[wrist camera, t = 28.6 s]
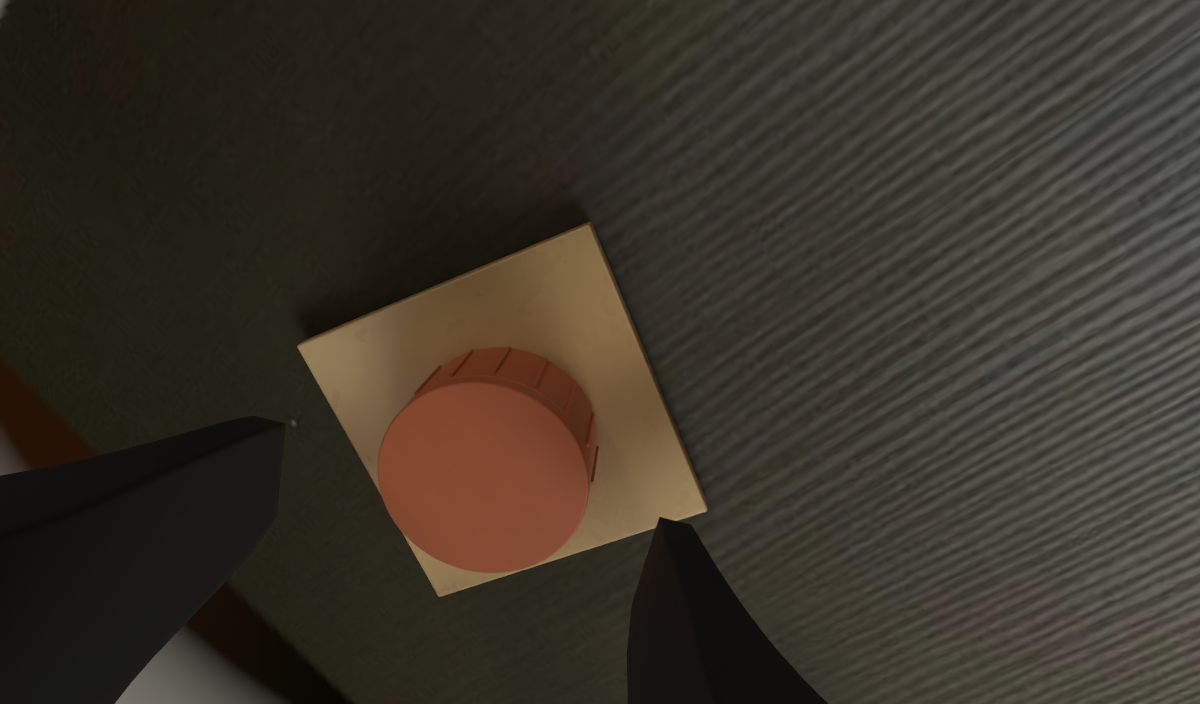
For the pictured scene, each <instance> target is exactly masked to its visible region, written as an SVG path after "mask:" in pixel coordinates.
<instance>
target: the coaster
mask: <svg viewBox="0 0 1200 704" xmlns="http://www.w3.org/2000/svg"><path fill="white" fill-rule="evenodd" d="M507 346H511V348H513V349H519V350H523V351H527V352H530V353H533V354H535V355H538V356H541V357H542V358H545V357H546V358H548V361H550V362H552V363H553V364H555V365H556V366H558V367H559V368H560V369H562V370H563V371H564V372H565V373H566V374H567V375H569V376H570V377H571V378H572V379H573V381H577V382H578V386H579V388H580V389H581V391H582V392H583V394H584V395H585V397H586V399H587V401H588V403H589V405H590V407H591V409H592V412H595V424H596V430H597V446H599V451H598V457H597V464H596V471H595V477H594V484H593V485H590V491H589V497H588V503H587V506H586V510H585V514H584V516H583V518H582V521H581V523H580V525H579V527H578V528H577V530H576V531H575V533H574V535H573V536H572V537H571V538H570V539H569V541H568V542H567V543H566V544H565V545H564V546H563V547H562V548H561V549H559V550H558V551H557V552H556V553H554V554H553V555H552V556H550V557H549V558H547V559H546V560H544V561H542V562H540V563H538V564H536V565H533V566H530V567H527V568H525V569H528V568H532V567H535V566H538V565H541V564H544V563H547V562H550V561H553V560H556V559H560V558H563V557H566V556H569V555H572V554H575V553H578V552H581V551H585V550H588V549H591V548H594V547H597V546H600V545H603V544H606V543H610V542H613V541H616V540H619V539H622V538H625V537H628V536H631V535H635V534H638V533H641V532H644V531H647V530H650V529H653V528H656V526H657V523H658V520H659V517H662V518H666V519H670V520H674V521H678V520H681V519H684V518H688V517H691V516H694V515H697V514H700V513H703V512H706V511H707V504H706V498H705V496H704V493H703V491H702V488H701V486H700V484H699V481H698V479H697V476H696V474H695V472H694V469H693V467H692V464H691V462H690V459H689V457H688V455H687V452H686V450H685V447H684V445H683V442H682V440H681V438H680V435H679V433H678V430H677V428H676V426H675V423H674V421H673V418H672V416H671V413H670V411H669V409H668V406H667V404H666V401H665V399H664V396H663V394H662V392H661V389H660V387H659V384H658V382H657V379H656V377H655V375H654V372H653V370H652V367H651V365H650V363H649V360H648V358H647V355H646V353H645V350H644V348H643V346H642V343H641V341H640V338H639V336H638V333H637V331H636V329H635V326H634V324H633V321H632V319H631V317H630V314H629V312H628V309H627V307H626V304H625V302H624V300H623V297H622V295H621V292H620V290H619V287H618V285H617V283H616V280H615V278H614V275H613V273H612V271H611V268H610V266H609V263H608V261H607V258H606V256H605V254H604V251H603V249H602V246H601V244H600V241H599V239H598V237H597V234H596V232H595V229H594V227H593V225H592V223H591V222H587V223H585V224H582V225H580V226H577V227H575V228H573V229H570V230H568V231H565V232H563V233H561V234H558V235H556V236H553V237H551V238H549V239H546V240H544V241H541V242H539V243H536V244H534V245H532V246H529V247H527V248H524V249H522V250H520V251H517V252H515V253H512V254H510V255H508V256H505V257H503V258H500V259H498V260H496V261H493V262H491V263H488V264H486V265H484V266H481V267H479V268H476V269H474V270H472V271H469V272H467V273H464V274H462V275H460V276H457V277H455V278H452V279H450V280H448V281H445V282H443V283H440V284H438V285H436V286H433V287H431V288H428V289H426V290H424V291H421V292H419V293H416V294H414V295H412V296H409V297H407V298H404V299H402V300H400V301H397V302H395V303H392V304H390V305H387V306H385V307H383V308H380V309H378V310H375V311H373V312H371V313H368V314H366V315H363V316H361V317H359V318H356V319H354V320H351V321H349V322H347V323H344V324H342V325H339V326H337V327H335V328H332V329H330V330H327V331H325V332H323V333H320V334H318V335H315V336H313V337H311V338H308V339H307V340H305V341H303V342H301V343H300V344H299V345H298V346H297V347H298V349H299V351H300V353H301V354H302V356H303V358H304V360H305V362H306V363H307V365H308V367H309V369H310V370H311V372H312V374H313V376H314V377H315V379H316V381H317V383H318V384H319V386H320V388H321V390H322V392H323V393H324V395H325V397H326V399H327V400H328V402H329V404H330V406H331V407H332V409H333V411H334V413H335V415H336V416H337V418H338V420H339V422H340V423H341V425H342V427H343V429H344V430H345V432H346V434H347V436H348V437H349V439H350V441H351V443H352V445H353V446H354V448H355V450H356V452H357V453H358V455H359V457H360V459H361V460H362V462H363V464H364V466H365V468H366V469H367V471H368V473H369V475H370V476H371V478H372V480H373V482H374V483H375V485H376V487H377V489H378V490H379V492H380V494H381V491H380V488H379V481H378V456H379V450H380V446H381V443H382V440H383V437H384V435H385V433H386V431H387V429H388V427H389V425H390V424H391V422H392V420H393V419H394V418H395V417H396V415H397V414H398V413H399V412H400V411H401V410H402V409H403V408H404V407H405V406H406V404H407V403H408V402H409V401H410V400H411V399H412V398H413V397H414V396H415V394H414V392H415V391H416V390H417V389H418V388H419V387H420V386H421V385H422V383H423V382H424V381H425V380H426V379H427V378H428V377H429V376H430V375H431V374H432V373H433V371H434V370H435V369H436V368H437V367H438V366H439V365H441V366H443V365H445V364H446V363H447V362H449V361H451V360H452V359H454V358H456V357H458V356H460V355H462V354H465V353H467V352H468V351H469V350H470V349H473V350H478V349H484V348H495V347H504V348H507ZM381 496H382V495H381ZM403 535H404V534H403ZM404 536H405V535H404ZM405 538H406V540H407V542H408V543H409V545H410V547H411V549H412V551H413V552H414V554H415V556H416V558H417V559H418V561H419V563H420V565H421V566H422V568H423V570H424V572H425V574H426V575H427V577H428V579H429V581H430V582H431V584H432V586H433V588H434V589H435V591H436V593H437V595H438V596H439V597H441V596H444V595H447V594H450V593H453V592H457V591H460V590H463V589H466V588H469V587H472V586H475V585H478V584H482V583H485V582H488V581H491V580H494V579H497V578H500V577H503V576H507V575H510V574H513V573H516V572H519V571H522V570H525V569H521V570H517V571H512V572H504V573H481V572H473V571H468V570H464V569H460V568H456V567H454V566H451V565H448V564H445V563H443V562H441V561H439V560H437V559H435V558H433V557H432V556H430V555H429V554H427V553H425V552H424V551H422V550H421V549H420V548H419V547H417V546H416V545H415V544H413V543H412V542H411V541H410V540H409V539H408V538H407V537H406V536H405Z"/></svg>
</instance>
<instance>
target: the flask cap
mask: <svg viewBox="0 0 1200 704" xmlns="http://www.w3.org/2000/svg"><path fill="white" fill-rule="evenodd" d="M414 394H415V396H414V397H413V398H412V399H411V400H410V401H409V402H408V403H407V404H406V406H405V407H404V408H403V409H402V410H401V411H400V412H399V413H398V414H397V415H396V417H395V418H394V419H393V420H392V422H391V424H390V425H389V427H388V429H387V431H386V433H385V435H384V437H383V440H382V443H381V446H380V450H379V456H378V481H379V488H380V491H381V495H382V498H383V501H384V503H385V506H386V508H387V510H388V512H389V514H390V516H391V517H392V519H393V521H394V522H395V524H396V525H397V526H398V527H399V529H400V530H401V531H402V533H403V534H404V535H405V536H406V537H407V538H408V539H409V540H410V541H411V542H412V543H413V544H415V545H416V546H417V547H419V548H420V549H421V550H422V551H424V552H425V553H427V554H429V555H430V556H432V557H433V558H435V559H437V560H439V561H441V562H443V563H445V564H448V565H451V566H454V567H456V568H460V569H464V570H468V571H473V572H481V573H504V572H512V571H517V570H521V569H525V568H527V567H530V566H533V565H536V564H538V563H540V562H542V561H544V560H546V559H547V558H549V557H550V556H552V555H553V554H554V553H556V552H557V551H558V550H559V549H561V548H562V547H563V546H564V545H565V544H566V543H567V542H568V541H569V539H570V538H571V537H572V536H573V535H574V533H575V531H576V530H577V528H578V527H579V525H580V523H581V521H582V518H583V516H584V514H585V510H586V506H587V503H588V497H589V491H590V485H593V484H594V477H595V471H596V464H597V457H598V451H599V446H597V430H596V424H595V412H592V409H591V407H590V405H589V403H588V401H587V399H586V397H585V395H584V394H583V392H582V391H581V389H580V388H579V386H578V382H577V381H573V379H572V378H571V377H570V376H569V375H567V374H566V373H565V372H564V371H563V370H562V369H560V368H559V367H558V366H556V365H555V364H553V363H552V362H550V361H548V358H546V357H545V358H542V357H541V356H538V355H535V354H533V353H530V352H527V351H523V350H519V349H513V348H511V346H507V348H504V347H495V348H484V349H478V350H473V349H470V350H469V351H468V352H467V353H465V354H462V355H460V356H458V357H456V358H454V359H452V360H451V361H449V362H447V363H446V364H445V365H443V366H441V365H439V366H438V367H437V368H436V369H435V370H434V371H433V373H432V374H431V375H430V376H429V377H428V378H427V379H426V380H425V381H424V382H423V383H422V385H421V386H420V387H419V388H418V389H417V390H416V391H415V392H414Z"/></svg>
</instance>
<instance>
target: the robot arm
mask: <svg viewBox="0 0 1200 704" xmlns="http://www.w3.org/2000/svg"><path fill="white" fill-rule="evenodd" d="M284 434H285V423H281V422H277V421H273V420H268V419H264V418H260V417H256V416H250V417H244V418H240V419H235V420H231V421H227V422H223V423H219V424H216V425H212V426H208V427H205V428H201V429H198V430H194V431H191V432H187V433H183V434H180V435H176V436H173V437H169V438H166V439H162V440H158V441H155V442H151V443H148V444H144V445H140V446H136V447H132V448H128V449H124V450H120V451H116V452H112V453H108V454H104V455H100V456H96V457H92V458H88V459H84V460H79V461H75V462H70V463H66V464H61V465H57V466H51V467H46V468H41V469H36V470H30V471H24V472H19V473H13V474H8V475H1V476H0V704H115V702H116V701H117V700H118V699H119V697H120V696H121V695H122V693H123V692H124V691H125V690H126V688H127V687H128V686H129V685H130V683H131V682H132V681H133V680H134V678H135V677H136V676H137V675H138V674H139V673H140V672H141V671H142V669H143V668H144V667H145V666H146V665H147V663H149V661H150V660H151V659H152V658H153V657H154V656H155V655H156V654H157V653H158V651H160V650H161V649H162V648H163V646H164V645H165V644H166V643H167V642H168V641H169V640H170V639H171V638H172V637H173V636H174V635H175V634H176V633H177V632H178V631H179V630H180V628H182V627H183V625H185V623H186V622H187V621H188V620H189V619H190V618H191V617H192V616H193V615H194V614H195V613H196V612H197V611H198V610H199V609H200V608H201V606H203V605H204V604H205V602H206V601H207V600H208V599H209V598H210V597H211V596H212V595H213V594H214V593H215V592H216V591H217V590H218V589H219V588H220V587H221V586H222V585H223V584H224V583H225V581H226V580H227V579H228V578H229V577H230V576H231V575H232V574H233V573H234V572H235V571H236V570H237V569H238V568H239V566H240V565H241V564H242V563H243V562H244V561H245V560H246V558H247V557H248V556H249V554H250V553H251V552H252V550H253V549H254V548H255V546H256V545H257V544H258V542H259V541H260V540H261V538H262V537H263V535H264V534H265V532H266V531H267V530H268V528H269V527H270V525H271V524H272V522H273V521H274V519H275V518H276V517H277V507H278V496H279V486H280V475H281V465H282V455H283V444H284ZM627 680H628V704H828V703H827V702H826V701H825V700H824V699H823V698H822V697H821V696H820V695H819V694H818V693H817V692H816V691H815V690H814V689H813V688H812V687H811V686H810V685H809V684H808V683H807V682H806V681H805V680H804V679H803V678H802V677H801V676H800V675H799V674H798V673H797V671H796V670H795V669H794V668H793V667H792V666H791V665H790V664H789V663H788V661H787V660H786V659H785V658H784V657H783V656H782V655H781V654H780V653H779V652H778V650H777V649H776V648H775V647H774V646H773V644H772V643H771V642H770V641H769V640H768V638H767V637H766V636H765V635H764V633H763V632H762V631H761V629H760V628H759V627H758V625H757V624H756V623H755V621H754V620H753V619H752V618H751V616H750V615H749V614H748V612H747V611H746V610H745V608H744V607H743V605H742V604H741V602H740V601H739V600H738V598H737V597H736V595H735V594H734V592H733V591H732V589H731V588H730V586H729V585H728V583H727V582H726V580H725V579H724V577H723V576H722V574H721V573H720V571H719V570H718V568H717V566H716V565H715V563H714V561H713V560H712V558H711V557H710V555H709V553H708V552H707V550H706V548H705V547H704V545H703V543H702V542H701V540H700V538H699V537H698V535H697V533H696V532H695V530H694V529H693V527H692V525H690V524H686V523H682V522H678V521H674V520H670V519H666V518H662V517H659V520H658V523H657V526H656V529H655V532H654V536H653V539H652V542H651V545H650V548H649V552H648V555H647V558H646V561H645V564H644V568H643V571H642V574H641V577H640V580H639V584H638V587H637V590H636V593H635V596H634V600H633V603H632V609H631V619H630V628H629V638H628V649H627Z"/></svg>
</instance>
